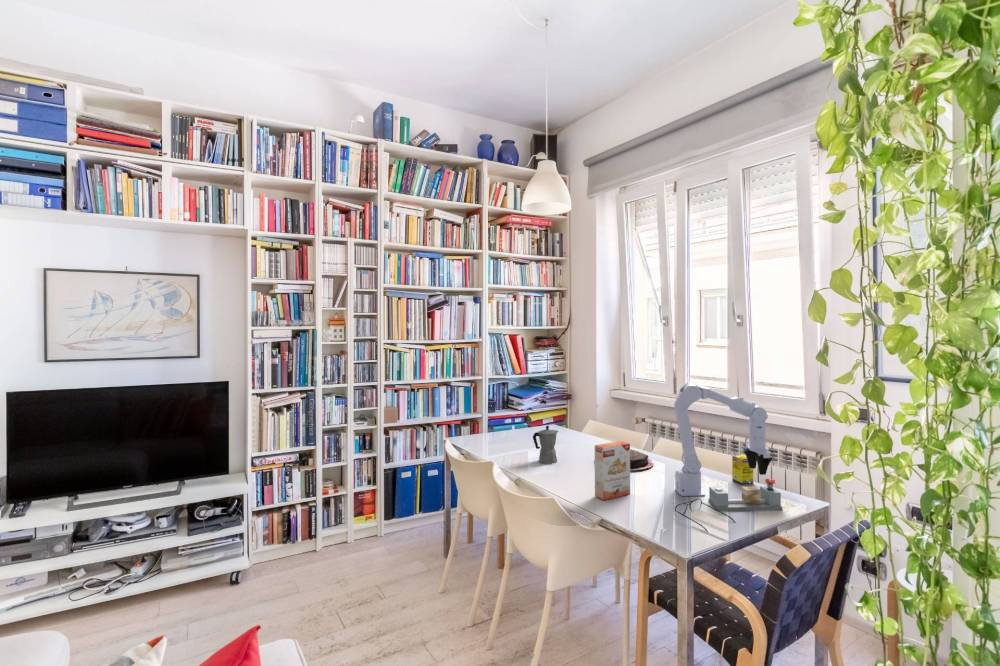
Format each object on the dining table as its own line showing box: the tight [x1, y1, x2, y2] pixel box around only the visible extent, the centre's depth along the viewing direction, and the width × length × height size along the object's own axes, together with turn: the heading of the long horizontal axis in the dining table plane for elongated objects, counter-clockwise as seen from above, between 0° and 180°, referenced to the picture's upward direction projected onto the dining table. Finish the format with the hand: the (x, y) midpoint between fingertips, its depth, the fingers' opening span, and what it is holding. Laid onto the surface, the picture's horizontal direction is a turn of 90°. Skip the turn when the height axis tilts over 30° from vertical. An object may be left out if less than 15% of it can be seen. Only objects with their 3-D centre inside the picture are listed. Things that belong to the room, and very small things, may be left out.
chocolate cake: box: [630, 448, 654, 472], centre depth 237 cm, size 28×28×7 cm
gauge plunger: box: [764, 478, 776, 491], centre depth 180 cm, size 3×3×4 cm
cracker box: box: [594, 440, 631, 501], centre depth 194 cm, size 14×6×21 cm, turn 118°
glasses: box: [674, 498, 737, 533], centre depth 169 cm, size 14×15×5 cm
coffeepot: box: [532, 425, 559, 465], centre depth 242 cm, size 15×9×18 cm, turn 121°
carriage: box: [741, 485, 761, 504], centre depth 181 cm, size 5×4×5 cm
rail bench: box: [707, 485, 783, 512], centre depth 181 cm, size 23×9×6 cm, turn 88°
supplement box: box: [731, 454, 754, 486], centre depth 206 cm, size 6×6×11 cm
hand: (757, 471), depth 189 cm, fingers open, 7 cm apart
